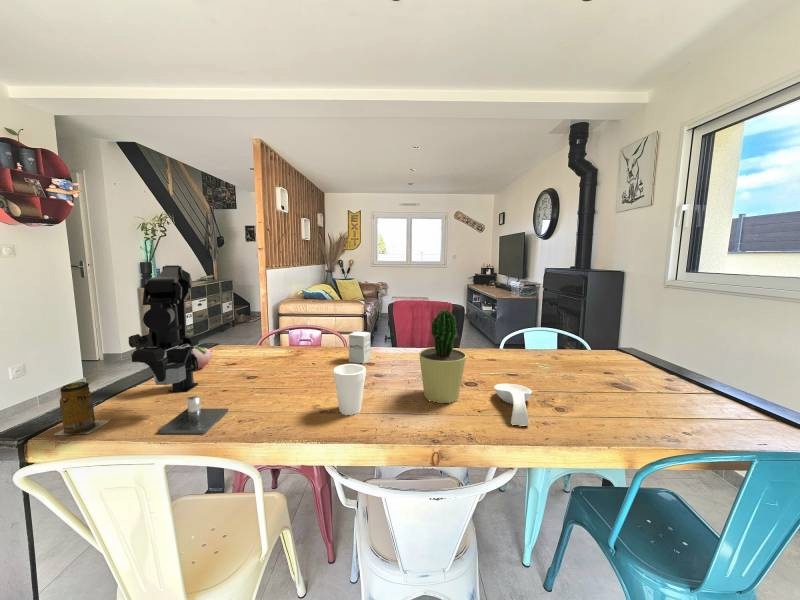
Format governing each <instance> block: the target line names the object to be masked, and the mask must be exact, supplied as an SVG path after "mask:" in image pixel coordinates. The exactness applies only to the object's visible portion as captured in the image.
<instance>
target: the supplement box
mask: <svg viewBox="0 0 800 600" xmlns="http://www.w3.org/2000/svg"><path fill="white" fill-rule="evenodd" d="M369 359H370V360H371V332H369V331H353V332H351V333H349V334H348V363H352V364H360V363H362V364H361V365H365V364H366V363H367V362H369V361H370V360H369ZM368 360H369V361H368ZM366 361H367V362H366ZM365 362H366V363H365ZM364 363H365V364H364Z"/></svg>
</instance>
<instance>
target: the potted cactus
mask: <svg viewBox="0 0 800 600" xmlns="http://www.w3.org/2000/svg"><path fill="white" fill-rule="evenodd" d="M456 318H457V316H455V315H454V314H453V312H451V311H450V309H440V310H439V312H438V314H437V315H436V314H434V318H433V320H431V327H430V329H431V330H430V333H431V336H432V337H433V339H432V343H433V344H432V345H433V347H427V348H424V349H420V351H419V352H418V355H419V363H420V371H421V379H422V380H421V381H422V385H423V386H422V388H423V396H424V398H425V397H426V398H427V399H428V400H430V401H433V402H437V403H450V404H452V403H451V402H453V403H455V402H454V401H456V400H457V399H459V396H460V391H461V386H462V380H463V374H464V370H465V365H466V358H467V354H466V353H465V352H464V351H462V350H461V349H460V350H459V349H456V346H455V341H456V340H457V339H458V337H459V336H458V333H459V332H458V328H456V327H457V322H456ZM457 332H458V333H457ZM426 398H425V399H426ZM427 399H426V400H427ZM428 400H427V401H428ZM430 401H429V402H430ZM457 401H458V400H457ZM457 401H456V402H457ZM433 402H432V403H433ZM437 403H436V404H437Z"/></svg>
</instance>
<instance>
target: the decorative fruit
mask: <svg viewBox="0 0 800 600" xmlns="http://www.w3.org/2000/svg"><path fill="white" fill-rule="evenodd" d="M193 347H194V349H193V354H195V356H196V357H197V359H198V365H199V369H202V368H204V367H205V366H207V365H209V363H210V362H211V360H212V357H213V356H212V355H213V354H212V351H210V349H209V348H207V347H202V346H201V347H200V346H199V344H197V345H195V346H193ZM192 366H193V365H192ZM199 369H198V370H199Z"/></svg>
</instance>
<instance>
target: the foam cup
mask: <svg viewBox="0 0 800 600" xmlns="http://www.w3.org/2000/svg"><path fill="white" fill-rule="evenodd" d="M366 375H367V368H366V367H365V366H364V365H363V364H359V363H345V364H340V365H338V366H336V367H334V369H333V379H334V384H335V385H334V386H335V391H336V398H337V403H338V409H339V413H340V412H341V413H342V414H341V413H340V414H341V415H343V414H346V415H345V416H347V415H350V416H354V415H353V414H355V415H357V414H356V413H358V412H359V413H360V412H361V411H362V403H363V397H364V389H365V379H366ZM360 410H361V411H360ZM359 413H358V414H359Z"/></svg>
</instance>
